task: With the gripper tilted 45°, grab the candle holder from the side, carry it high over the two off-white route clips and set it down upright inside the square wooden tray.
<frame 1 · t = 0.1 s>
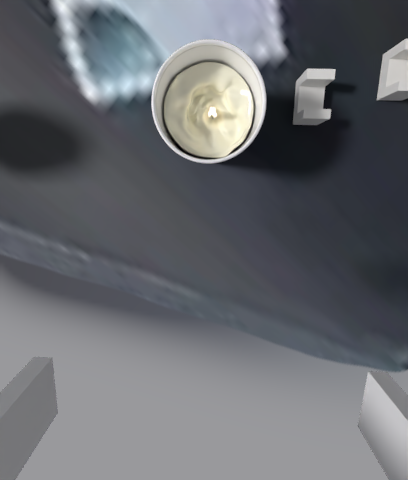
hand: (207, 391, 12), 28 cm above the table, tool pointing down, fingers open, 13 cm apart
route clips: (349, 90, 35), on the table
candle holder: (208, 127, 36), on the table
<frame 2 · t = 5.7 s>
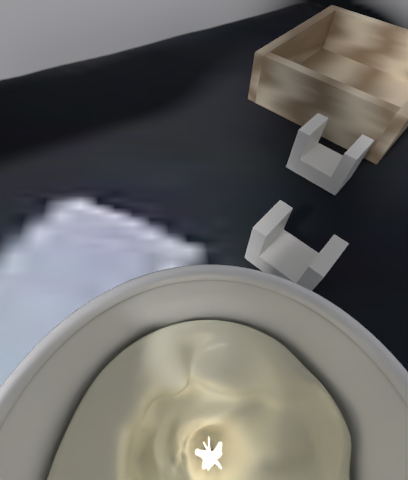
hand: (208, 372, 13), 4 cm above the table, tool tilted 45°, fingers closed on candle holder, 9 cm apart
route clips: (303, 213, 23), on the table
square wooden tray: (342, 97, 32), on the table
candle holder: (204, 448, 15), on the table, touching gripper
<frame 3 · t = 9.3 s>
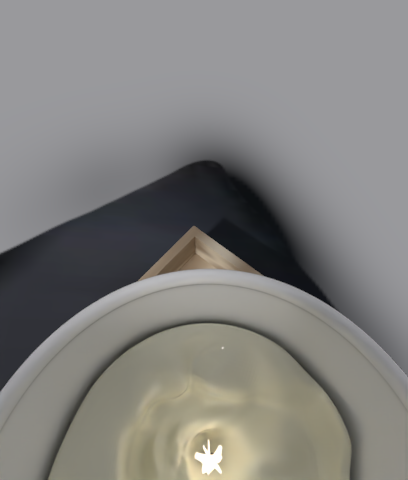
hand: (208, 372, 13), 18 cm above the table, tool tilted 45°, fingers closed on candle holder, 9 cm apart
square wooden tray: (201, 330, 32), on the table
candle holder: (204, 451, 15), point 13 cm above the table, touching gripper
when the fingers open (7 cm above the table, at t = 12.8 s): candle holder drops 1 cm, resting on square wooden tray.
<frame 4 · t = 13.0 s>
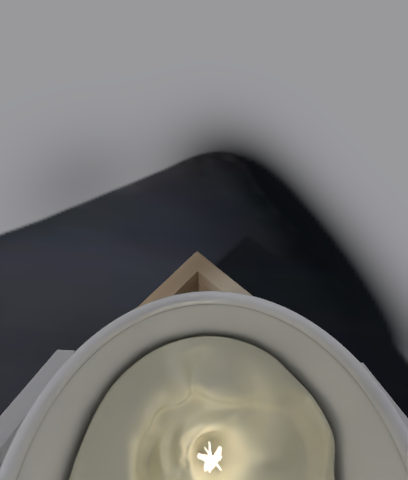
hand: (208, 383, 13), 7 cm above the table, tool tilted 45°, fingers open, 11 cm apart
square wooden tray: (204, 445, 17), on the table
candle holder: (204, 453, 16), point 1 cm above the table, touching square wooden tray
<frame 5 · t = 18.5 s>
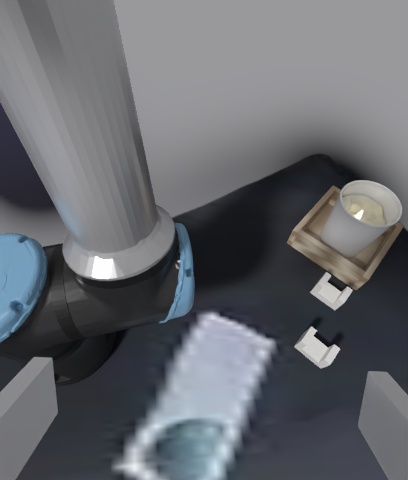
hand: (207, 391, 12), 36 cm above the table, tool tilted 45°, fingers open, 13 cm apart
route clips: (319, 321, 49), on the table
square wooden tray: (338, 241, 58), on the table
candle holder: (340, 240, 57), point 1 cm above the table, touching square wooden tray
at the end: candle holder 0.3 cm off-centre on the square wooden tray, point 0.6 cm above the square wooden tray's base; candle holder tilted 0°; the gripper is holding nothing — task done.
